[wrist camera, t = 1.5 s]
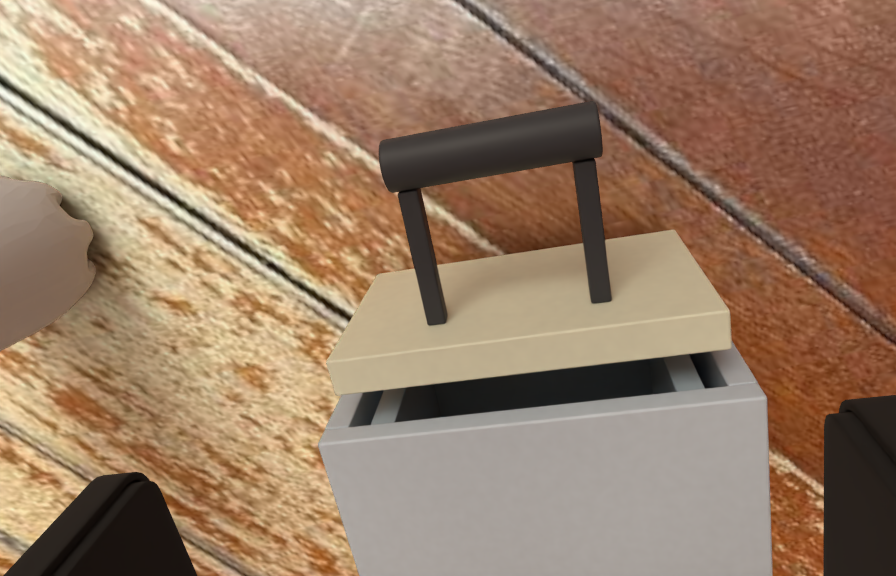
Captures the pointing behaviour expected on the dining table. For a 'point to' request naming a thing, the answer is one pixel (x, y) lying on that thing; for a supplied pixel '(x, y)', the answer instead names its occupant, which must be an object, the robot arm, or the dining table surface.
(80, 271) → the bottle
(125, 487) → the robot arm
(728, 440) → the gray box
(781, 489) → the dining table surface
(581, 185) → the drawer
